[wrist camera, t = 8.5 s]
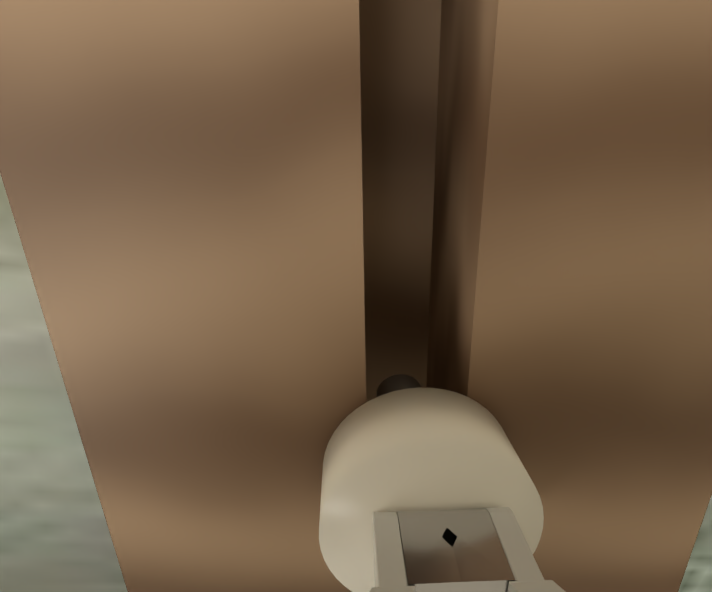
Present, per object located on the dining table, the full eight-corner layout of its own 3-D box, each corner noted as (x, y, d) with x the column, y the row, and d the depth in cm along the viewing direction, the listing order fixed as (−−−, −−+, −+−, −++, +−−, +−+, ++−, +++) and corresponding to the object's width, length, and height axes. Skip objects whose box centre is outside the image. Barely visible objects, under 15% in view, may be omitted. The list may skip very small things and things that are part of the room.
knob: (466, 450, 15) (529, 605, 10) (330, 455, 15) (324, 615, 10) (476, 326, 14) (559, 436, 8) (323, 331, 13) (312, 447, 8)
